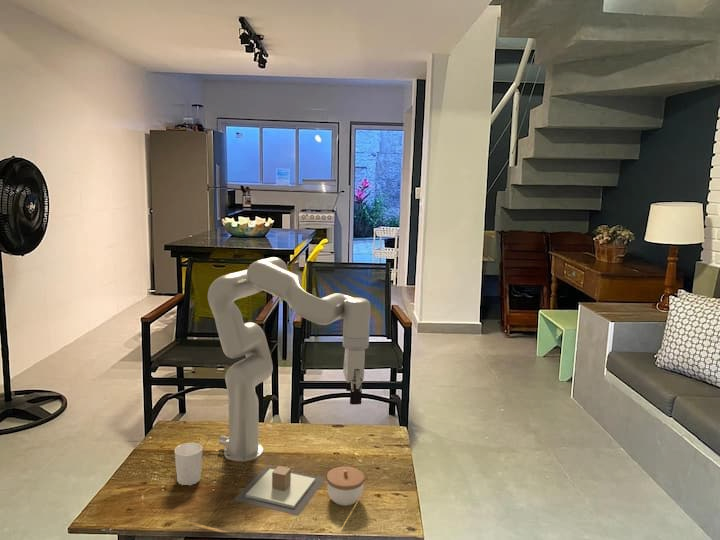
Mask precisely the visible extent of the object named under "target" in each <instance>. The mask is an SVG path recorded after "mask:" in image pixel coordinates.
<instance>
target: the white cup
mask: <svg viewBox="0 0 720 540" xmlns="http://www.w3.org/2000/svg"><path fill="white" fill-rule="evenodd" d="M174 459H175V461H174V462H175V471H176V479H177V480H176V481H177V483H178V484H179V485H180V484H181V485H180V486H183V485H189V486H194V485H195V484H196V485H197V484H198V483H199V482H201V480H200V479H201V477H202V469H203V467H202V466H203V465H202V464H203V463H202V462H203V445H202V444H200V443H197V442H185V443H182V444H180V445H178V446H176V447H175V448H174ZM197 482H198V483H197ZM193 484H194V485H193Z"/></svg>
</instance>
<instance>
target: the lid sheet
mask: <svg viewBox="0 0 720 540" xmlns="http://www.w3.org/2000/svg"><path fill="white" fill-rule="evenodd" d="M291 471H292V469H291V467H287V466H282V465H277V467H276V469H275V470H274V469H269V470H268V471H267V472H266V474H265V475H264V476H263V477H262V478H261V479H260V480H259V481H258V482H257V483H256V484H255V485H254V486H253V487H252V488H251V489H250V490H249V491H248V492H247V494H246V497H248V498H252V499H257V500H261V501H265V502H269V503H273V504H278V505H282V506H286V507H290V508H295V506H296V505H297V504H298V502H299V501H300V500H301V499H302V497H303V496H304V495H305V493H306V492H307V491H308V489H309V488H310V487H311V486H312V484H313V483H314V482H315V478H311V477H306V476H302V475H297V474H293V473H291Z"/></svg>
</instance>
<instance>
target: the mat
mask: <svg viewBox="0 0 720 540" xmlns="http://www.w3.org/2000/svg"><path fill="white" fill-rule="evenodd" d="M276 468H277V467H276V466H272V465H265V466H264V468H263V469H262V470H261V471H260V472H258V474H257V475H256V476H255V477H254V478H253V479H252V480H251V481H250V482H249V483H248V484H247V485H246V486H245V487H244V488H243V489H242V490H241V491H240V492H239V493H238V494H237V495H236V496H235V497H234V498H233V501H236V502H240V503H244V504H249V505H253V506H257V507H261V508H265V509H269V510H273V511H278V512H282V513H286V514H289V515H295V516H298V517H299V515H300V514H301V513H302V511H303V510H304V509H305V508H306V506H307V505H308V504H309V502H310V501H311V499H312V498H313V497H314V495H315V494H316V492H317V491H318V490H319V489H320V487H321V485H322V484H323V483H324V482H325V480H327V477H326V478H325V477H323V476H321V477H320V476H317V475H311V474H307V473H303V472H299V471H298V472H297V471H293V470H291V473H293V474H297V475H302V476H306V477H311V478H315V482H314V483H313V484H312V486H311V487H310V488H309V489H308V491H307V492H306V493H305V495H304V496H303V497H302V499H301V500H300V501H299V502H298V504H297V505H296V506H295V508H290V507H286V506H282V505H278V504H273V503H269V502H265V501H261V500H257V499H252V498H248V497H246V494H247V492H248V491H249V490H250V489H251V488H252V487H253V486H254V485H255V484H256V483H257V482H258V481H259V480H260V479H261V478H262V477H263V476H264V475H265V474H266V472H267V471H268V470H269V469H274V470H275V469H276Z"/></svg>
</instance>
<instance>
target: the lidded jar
mask: <svg viewBox="0 0 720 540" xmlns="http://www.w3.org/2000/svg"><path fill="white" fill-rule="evenodd" d="M364 486H365V474H364V473H363V472H362V470H360V469H358V468H356V467H352V466H343V465H342V466H338V467H334V468H331V469H330V470H329V471H328V472H327V474H326V489H327V494H328V497H329V498H330V499H331V500H332V502H334V503H335V504H337V505H339V506H342V507H343V506H345V507H346V506H347V507H349V506H352V505H353V504H355V503H357V502H358V501H359V500H360V498H361V496H362V494H363V492H364Z"/></svg>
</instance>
